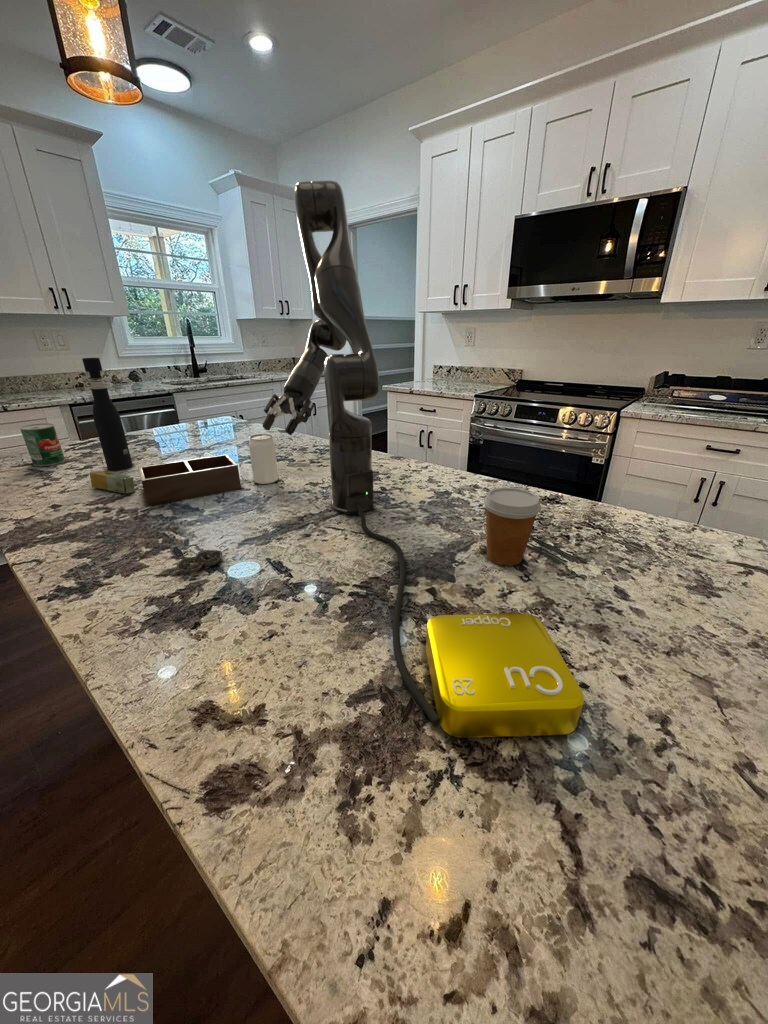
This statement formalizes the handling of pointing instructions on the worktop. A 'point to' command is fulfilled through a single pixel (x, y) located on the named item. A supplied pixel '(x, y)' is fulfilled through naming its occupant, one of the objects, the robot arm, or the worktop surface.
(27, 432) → the canned tomato
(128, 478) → the medication box
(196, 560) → the corroded twin loop
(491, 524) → the disposable coffee cup
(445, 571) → the worktop surface
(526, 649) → the element tile
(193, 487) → the caddy
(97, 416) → the black water bottle
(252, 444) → the can
